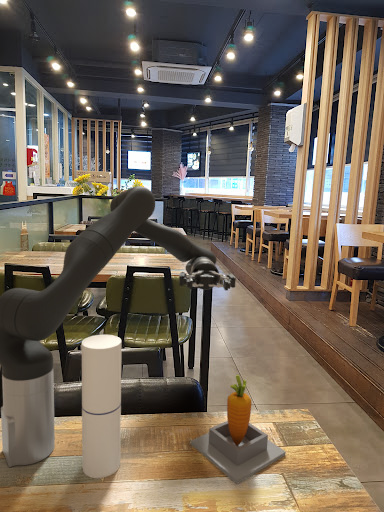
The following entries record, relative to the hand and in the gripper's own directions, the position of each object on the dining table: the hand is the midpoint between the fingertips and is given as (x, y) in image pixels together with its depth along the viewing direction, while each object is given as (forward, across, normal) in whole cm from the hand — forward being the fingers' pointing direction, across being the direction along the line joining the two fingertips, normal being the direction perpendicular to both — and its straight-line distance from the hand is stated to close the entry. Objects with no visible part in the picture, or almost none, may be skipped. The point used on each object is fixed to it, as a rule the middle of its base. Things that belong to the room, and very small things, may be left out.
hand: (209, 285), depth 88 cm
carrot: (+15, +6, +31) cm, 35 cm away
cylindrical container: (+20, -21, +32) cm, 43 cm away
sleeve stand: (+15, +6, +32) cm, 36 cm away
